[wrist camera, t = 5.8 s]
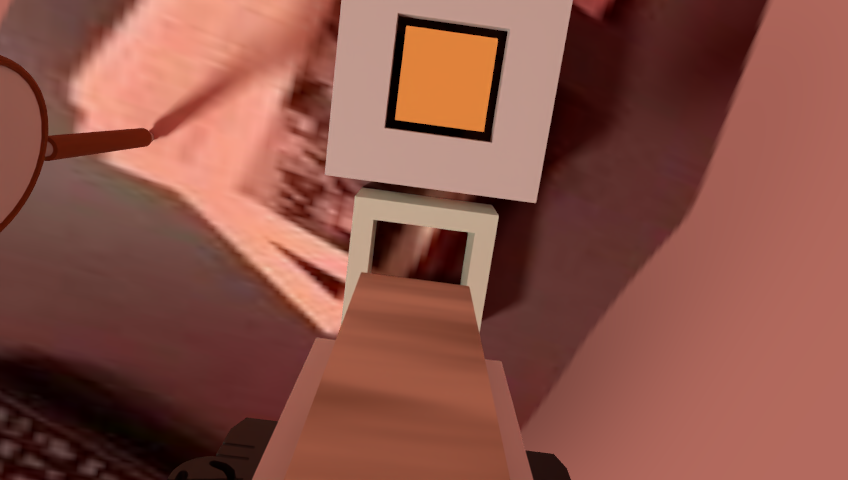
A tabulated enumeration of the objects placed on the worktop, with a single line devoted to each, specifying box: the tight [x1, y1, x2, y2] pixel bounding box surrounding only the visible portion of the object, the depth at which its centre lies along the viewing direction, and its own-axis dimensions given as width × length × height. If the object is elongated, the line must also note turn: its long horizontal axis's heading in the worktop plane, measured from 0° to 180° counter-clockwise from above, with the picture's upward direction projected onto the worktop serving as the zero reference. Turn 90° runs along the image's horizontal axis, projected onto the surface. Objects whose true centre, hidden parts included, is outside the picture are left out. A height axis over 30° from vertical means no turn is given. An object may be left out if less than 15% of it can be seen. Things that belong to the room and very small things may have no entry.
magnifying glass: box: [0, 55, 154, 232], centre depth 29 cm, size 9×2×20 cm, turn 160°
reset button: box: [395, 26, 498, 132], centre depth 33 cm, size 5×5×3 cm
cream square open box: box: [341, 187, 499, 332], centre depth 39 cm, size 9×9×4 cm
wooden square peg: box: [284, 272, 510, 480], centre depth 13 cm, size 4×4×17 cm
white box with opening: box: [325, 0, 573, 203], centre depth 34 cm, size 12×12×7 cm
